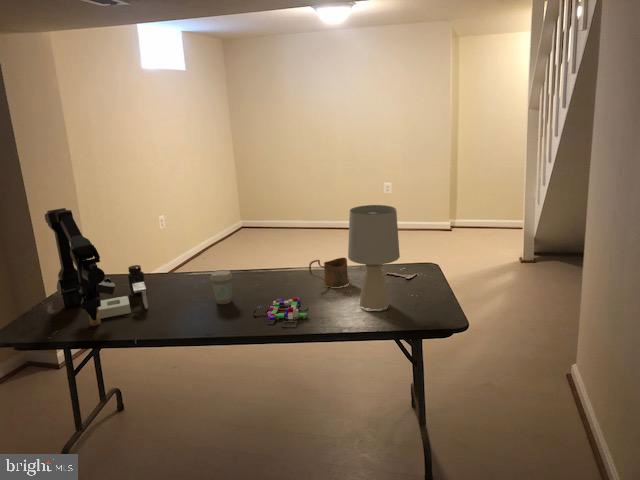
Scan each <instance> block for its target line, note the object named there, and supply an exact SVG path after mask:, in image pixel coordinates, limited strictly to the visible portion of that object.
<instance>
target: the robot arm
mask: <svg viewBox="0 0 640 480" xmlns="http://www.w3.org/2000/svg"><path fill="white" fill-rule="evenodd" d="M44 219H45V222H46V223H47V226H48V227H49V228H50V230H52V231H53V233H54V237H55V243H56V248H57V253H58V258H59V265H60V270H59V271H58V274H57V277H58V278H57V279H58V280H57V283H56V290H57V293H58V294H59V295H60V296H62V300H63V306H64V307H63V310H68V309H73V308H74V309H75V308H79V307H80V308H81V310H82V311H83V310H84V311H86V313H87V315H88V316H89V315H90V317H91V318H92V319H93V320H96V318H97V307H100V306H101V300H102V299H101V294H107V295H110V296H112V295H114V293H115V288H116V284H115V282H114V281H113V282H112V280H111V278H109V277H105V276H106V273H105V272H104V270H103V269H101V268H100V267H98V265H97V263H98V264H99V263H100V262H101V256H100V254H99V251H98V249H97V248H96V247H95V245H94V244H92V242H91V240H90V239H89V238H87V237H84V236H83V234H82V232H81V230H80V229H79V226H78V225H77V222H76V221H75V220H74V216H73V212H72V210H71V209H67V208H65V207H63V208H62V207H61V208H57V209H50V210H47V211H46V213H45V214H44Z"/></svg>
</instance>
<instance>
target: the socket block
mask: <svg viewBox="0 0 640 480" xmlns="http://www.w3.org/2000/svg"><path fill="white" fill-rule="evenodd" d="M100 300H101V306H100V307H98V308H99V314H100V320H101V319H105V318H111V317H117V316H121V315H125V314H126V315H127V314H131V313H132V311H131V306H130V301H129V300H130V299H129V296H128V295H125V296H119V297H114V298H108V299H107V298H106V299H100Z"/></svg>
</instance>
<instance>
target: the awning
mask: <svg viewBox="0 0 640 480" xmlns="http://www.w3.org/2000/svg"><path fill="white" fill-rule="evenodd" d="M132 286H133V290H134V293H137V292H142V295H141V298H142V303H143V307H144V309H145V310H147V309H149V304H148V298H147V293H146V288H147V286H146V287H145V284H144V282H140V283H134V284H132Z"/></svg>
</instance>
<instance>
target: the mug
mask: <svg viewBox="0 0 640 480" xmlns="http://www.w3.org/2000/svg"><path fill="white" fill-rule="evenodd" d="M316 262H317V264H318V265H319V267H321V268H322V269H323V268H324V269H323V270H324V272H323V273H324V278H322V277H321V276H319V275H315V274H313V272H312V264H314V263H316ZM320 262H321V261H320V259H315V260H311V261H310V263H309V264H308V269H309V273H310V275H311V276H313V277H315V278H318V279H320V280H322V281H323V282H322V285H323V284H324V285H325V286H329V287H340V286H344V285H346V284H348V283H349V281H350V280H349V277H348V259H347V258H346V257H339V258H335V259H331V260H329V261H325V262H323V265H321V263H320Z"/></svg>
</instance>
